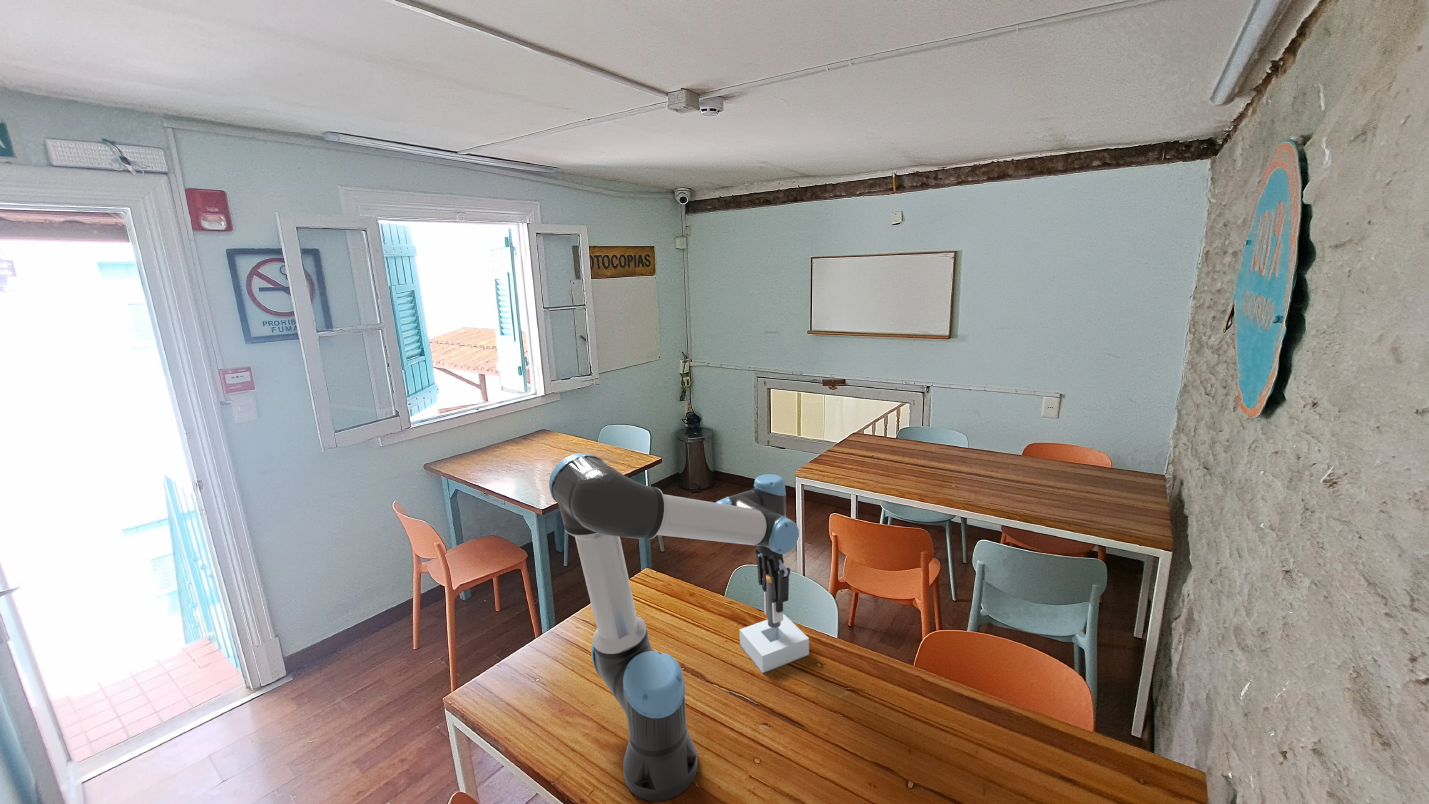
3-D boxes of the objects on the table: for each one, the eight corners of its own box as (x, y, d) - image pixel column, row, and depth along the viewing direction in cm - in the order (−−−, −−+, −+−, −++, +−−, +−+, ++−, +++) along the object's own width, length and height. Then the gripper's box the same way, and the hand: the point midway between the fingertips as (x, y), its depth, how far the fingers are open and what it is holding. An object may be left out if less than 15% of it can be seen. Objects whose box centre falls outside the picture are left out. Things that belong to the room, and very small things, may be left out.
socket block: (808, 654, 143) (808, 638, 142) (762, 673, 137) (762, 656, 136) (783, 629, 153) (783, 613, 152) (740, 645, 148) (739, 629, 146)
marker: (783, 625, 143) (782, 577, 139) (771, 629, 141) (770, 581, 138) (776, 618, 146) (775, 570, 143) (765, 622, 144) (763, 574, 141)
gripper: (802, 545, 132) (803, 629, 137) (767, 519, 146) (769, 597, 152) (776, 553, 129) (778, 639, 134) (742, 526, 143) (746, 605, 149)
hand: (773, 616), depth 143 cm, fingers closed on marker, 3 cm apart
